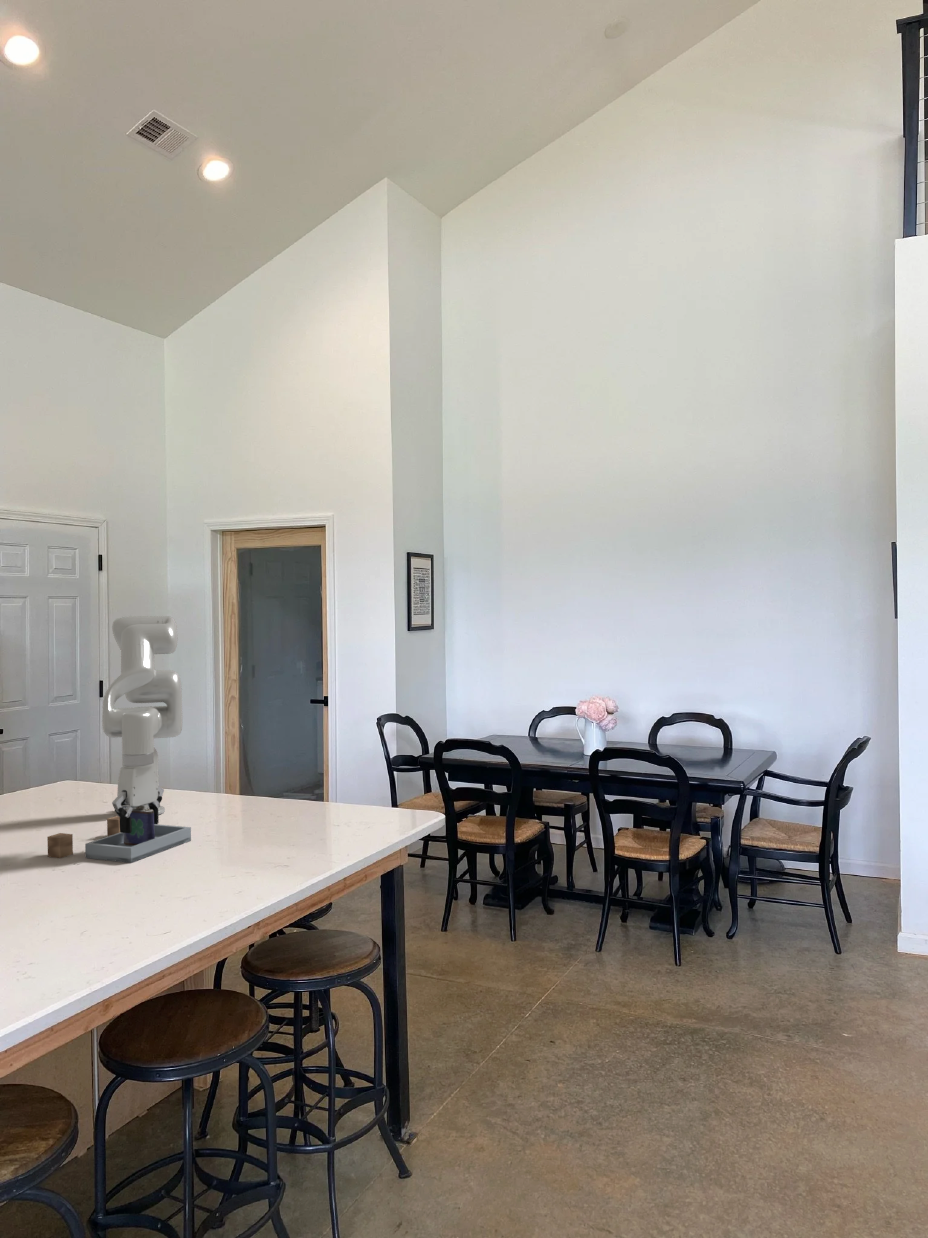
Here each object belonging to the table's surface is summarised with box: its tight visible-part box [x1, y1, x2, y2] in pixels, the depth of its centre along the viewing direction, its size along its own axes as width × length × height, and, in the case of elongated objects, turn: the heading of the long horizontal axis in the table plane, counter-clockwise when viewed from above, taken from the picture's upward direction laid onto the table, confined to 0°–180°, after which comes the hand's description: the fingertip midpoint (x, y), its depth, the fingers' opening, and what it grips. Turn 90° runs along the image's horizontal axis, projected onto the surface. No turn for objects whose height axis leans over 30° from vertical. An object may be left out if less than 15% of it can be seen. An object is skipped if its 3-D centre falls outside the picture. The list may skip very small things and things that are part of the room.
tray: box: [84, 823, 192, 864], centre depth 230 cm, size 14×22×4 cm, turn 158°
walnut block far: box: [106, 815, 120, 837], centre depth 244 cm, size 4×4×5 cm
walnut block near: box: [47, 832, 74, 859], centre depth 225 cm, size 4×4×5 cm
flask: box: [124, 806, 155, 846], centre depth 230 cm, size 9×3×11 cm, turn 67°
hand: (139, 828), depth 230 cm, fingers open, 9 cm apart
